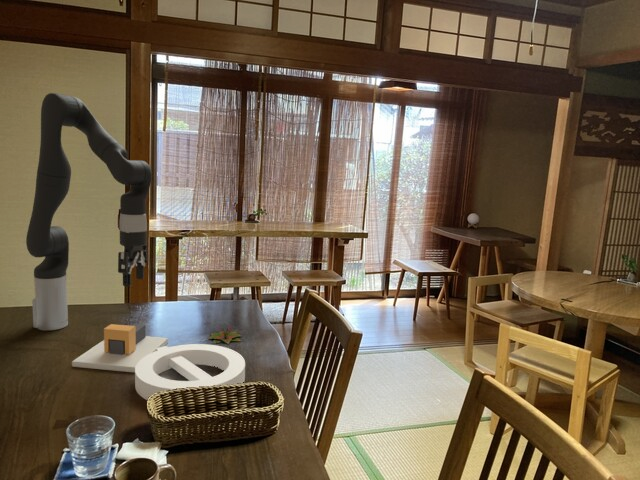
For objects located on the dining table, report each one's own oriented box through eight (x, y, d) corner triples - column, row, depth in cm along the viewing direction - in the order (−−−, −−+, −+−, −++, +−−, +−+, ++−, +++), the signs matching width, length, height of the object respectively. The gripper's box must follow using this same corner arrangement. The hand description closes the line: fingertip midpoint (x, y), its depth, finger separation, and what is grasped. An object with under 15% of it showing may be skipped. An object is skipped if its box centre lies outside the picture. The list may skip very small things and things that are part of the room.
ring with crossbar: (158, 356, 144) (158, 341, 143) (252, 362, 144) (253, 347, 143) (116, 403, 117) (115, 385, 116) (232, 411, 116) (233, 392, 115)
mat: (72, 366, 134) (72, 361, 134) (113, 337, 156) (113, 333, 155) (135, 372, 132) (135, 367, 132) (168, 342, 154) (168, 338, 154)
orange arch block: (104, 352, 140) (103, 328, 139) (111, 346, 144) (111, 324, 143) (129, 354, 139) (128, 331, 138) (135, 349, 143) (135, 326, 142)
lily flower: (246, 344, 157) (247, 331, 156) (208, 347, 153) (209, 334, 152) (239, 331, 168) (240, 318, 167) (204, 334, 164) (204, 321, 163)
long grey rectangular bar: (110, 353, 140) (109, 340, 139) (133, 336, 154) (133, 324, 153) (123, 354, 140) (123, 341, 139) (145, 337, 153) (145, 325, 153)
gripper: (132, 224, 151) (132, 275, 154) (108, 231, 137) (109, 287, 140) (155, 226, 150) (155, 277, 153) (134, 233, 136) (135, 289, 139)
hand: (133, 282), depth 146 cm, fingers open, 8 cm apart
